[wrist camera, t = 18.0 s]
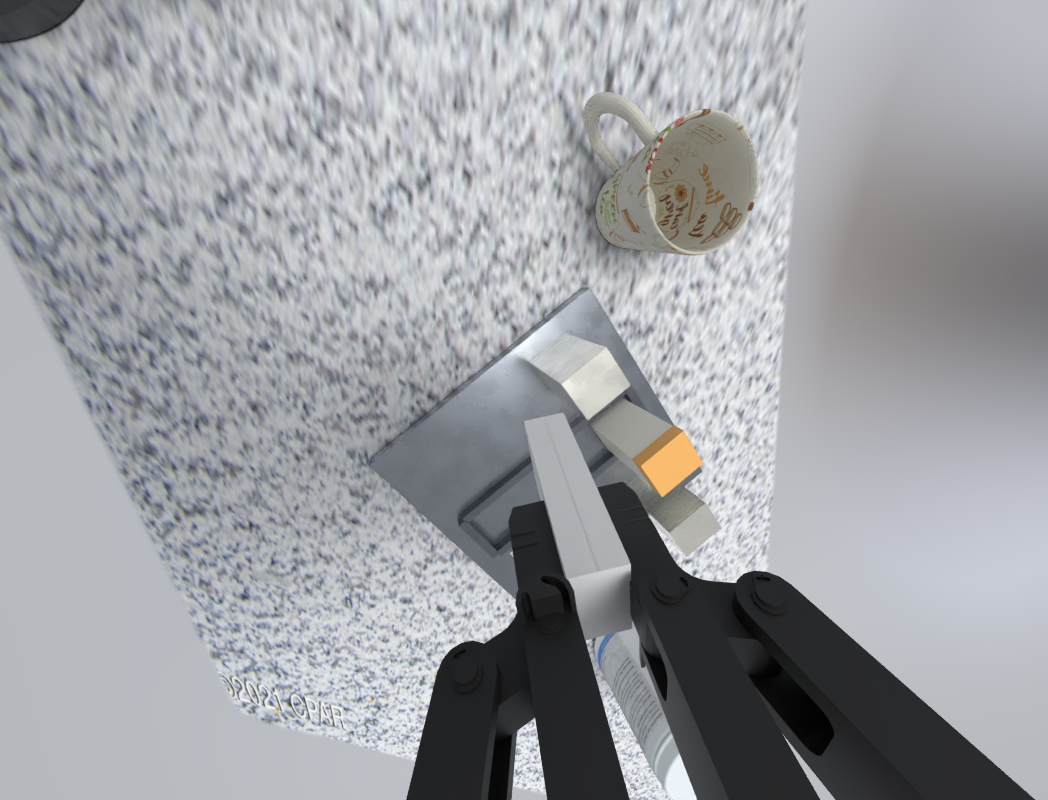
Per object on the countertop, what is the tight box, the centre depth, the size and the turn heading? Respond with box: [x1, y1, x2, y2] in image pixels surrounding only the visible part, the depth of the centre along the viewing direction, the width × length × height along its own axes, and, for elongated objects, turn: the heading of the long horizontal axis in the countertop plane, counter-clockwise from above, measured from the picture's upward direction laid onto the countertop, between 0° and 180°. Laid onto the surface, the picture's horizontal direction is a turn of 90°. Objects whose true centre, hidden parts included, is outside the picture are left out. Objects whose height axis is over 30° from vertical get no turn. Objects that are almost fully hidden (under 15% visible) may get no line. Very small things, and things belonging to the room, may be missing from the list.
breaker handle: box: [590, 398, 703, 497], centre depth 34 cm, size 4×4×9 cm
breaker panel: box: [369, 288, 721, 599], centre depth 35 cm, size 24×24×10 cm
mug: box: [584, 92, 759, 255], centre depth 29 cm, size 8×13×10 cm, turn 49°
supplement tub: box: [594, 620, 697, 800], centre depth 42 cm, size 10×10×15 cm
